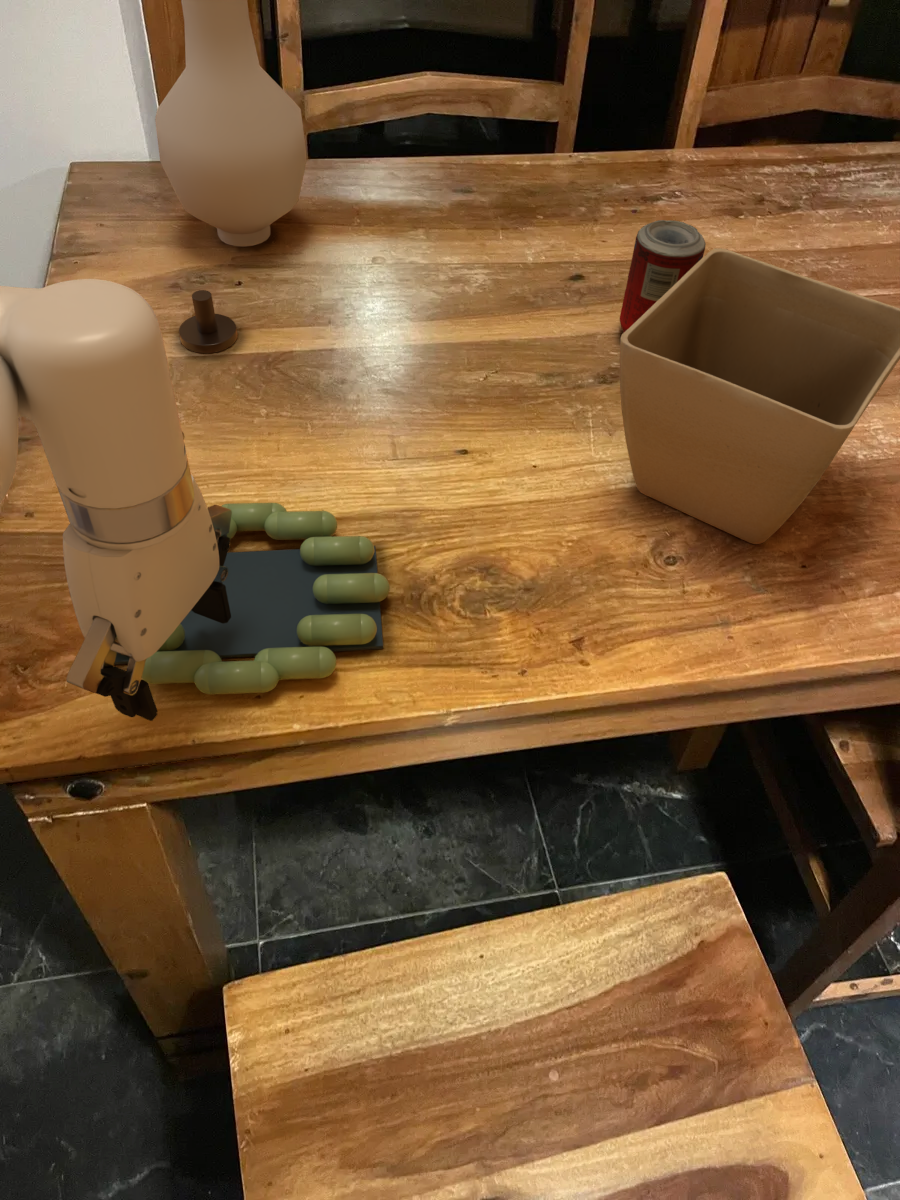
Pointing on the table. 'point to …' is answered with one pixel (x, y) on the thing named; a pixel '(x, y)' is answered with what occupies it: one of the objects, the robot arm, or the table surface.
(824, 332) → the flower pot
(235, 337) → the ring stand
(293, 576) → the mat
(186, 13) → the vase
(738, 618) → the table surface
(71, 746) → the table surface
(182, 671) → the ring
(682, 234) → the soda can
